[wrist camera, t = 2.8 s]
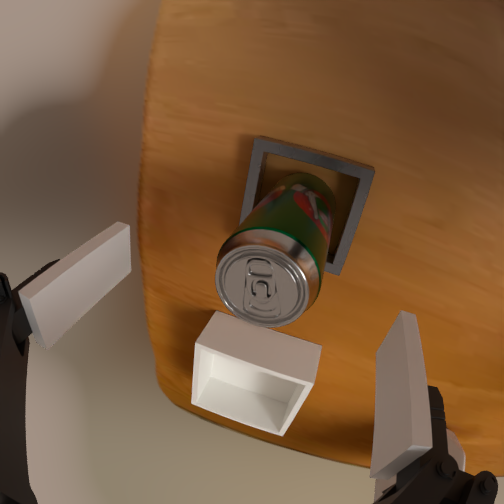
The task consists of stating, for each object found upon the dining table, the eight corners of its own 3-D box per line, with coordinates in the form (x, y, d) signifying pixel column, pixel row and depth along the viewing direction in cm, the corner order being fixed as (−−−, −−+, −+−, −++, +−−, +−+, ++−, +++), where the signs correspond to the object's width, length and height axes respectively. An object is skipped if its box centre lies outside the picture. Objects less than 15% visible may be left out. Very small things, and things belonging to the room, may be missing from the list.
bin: (216, 310, 32) (195, 342, 27) (322, 345, 30) (313, 383, 25) (207, 374, 37) (191, 403, 33) (292, 403, 35) (282, 436, 31)
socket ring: (260, 135, 22) (254, 138, 21) (373, 167, 21) (375, 171, 20) (242, 235, 27) (235, 243, 25) (340, 266, 25) (339, 275, 24)
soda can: (272, 231, 26) (214, 325, 16) (270, 169, 23) (200, 233, 13) (335, 235, 24) (314, 340, 14) (337, 172, 22) (321, 242, 12)
